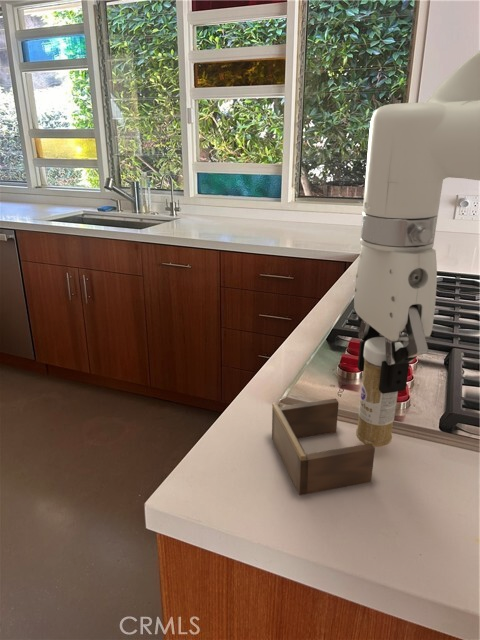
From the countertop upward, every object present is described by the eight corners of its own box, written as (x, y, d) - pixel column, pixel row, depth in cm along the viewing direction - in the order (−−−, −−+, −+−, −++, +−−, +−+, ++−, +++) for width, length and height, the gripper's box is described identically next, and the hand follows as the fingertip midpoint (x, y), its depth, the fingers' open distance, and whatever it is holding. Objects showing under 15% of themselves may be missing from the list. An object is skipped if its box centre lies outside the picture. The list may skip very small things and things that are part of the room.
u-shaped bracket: (333, 428, 65) (336, 394, 63) (371, 482, 55) (375, 444, 53) (271, 438, 63) (272, 403, 61) (299, 496, 53) (300, 456, 51)
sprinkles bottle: (349, 431, 61) (357, 338, 56) (378, 424, 62) (389, 333, 57) (368, 452, 57) (379, 354, 52) (399, 444, 58) (413, 348, 53)
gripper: (483, 246, 42) (451, 413, 49) (388, 215, 58) (374, 346, 65) (409, 252, 41) (387, 424, 48) (332, 218, 56) (324, 353, 63)
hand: (380, 378), depth 56 cm, fingers closed on sprinkles bottle, 4 cm apart
